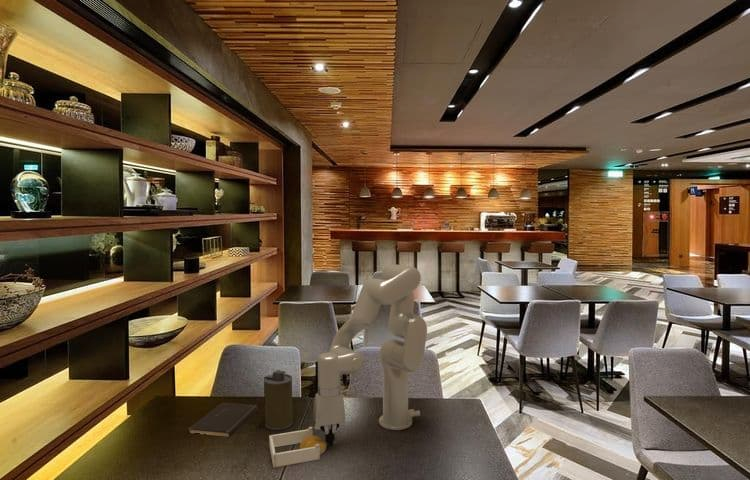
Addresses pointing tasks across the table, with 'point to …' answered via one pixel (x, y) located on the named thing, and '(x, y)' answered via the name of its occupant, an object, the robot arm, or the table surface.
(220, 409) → the hardcover book
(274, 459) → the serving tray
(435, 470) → the table surface
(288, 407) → the canister
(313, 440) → the bread roll
